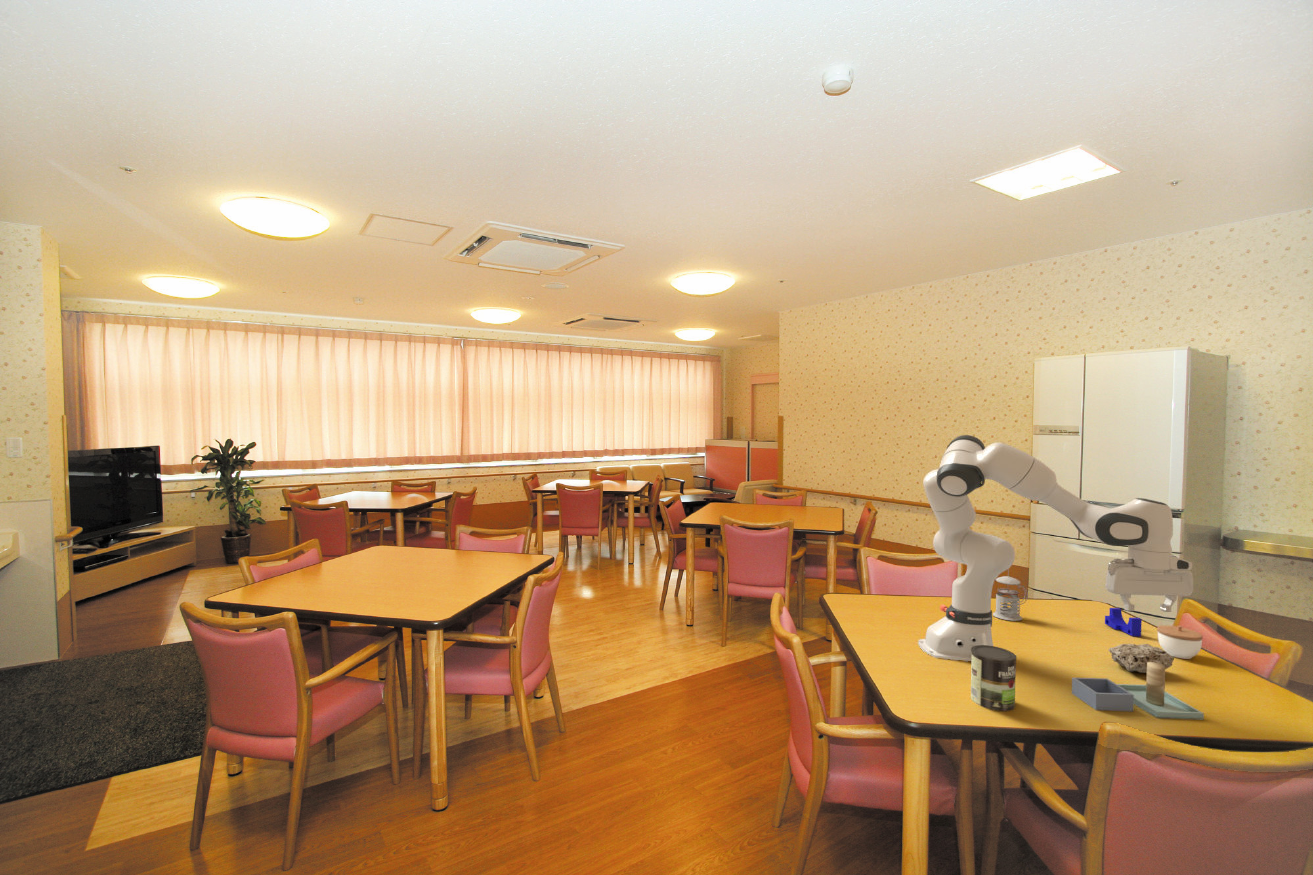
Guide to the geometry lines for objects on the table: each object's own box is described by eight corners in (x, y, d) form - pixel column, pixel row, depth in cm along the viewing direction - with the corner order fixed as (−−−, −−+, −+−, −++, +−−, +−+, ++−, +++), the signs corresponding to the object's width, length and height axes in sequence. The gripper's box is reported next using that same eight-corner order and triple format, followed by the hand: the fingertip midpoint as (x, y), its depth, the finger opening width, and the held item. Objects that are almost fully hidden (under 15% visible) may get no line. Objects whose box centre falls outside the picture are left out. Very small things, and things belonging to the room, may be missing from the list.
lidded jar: (1201, 654, 183) (1202, 625, 183) (1202, 665, 175) (1203, 635, 175) (1157, 645, 190) (1158, 617, 190) (1155, 655, 183) (1156, 626, 182)
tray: (1156, 720, 143) (1156, 711, 143) (1111, 691, 158) (1111, 683, 158) (1203, 721, 142) (1203, 713, 142) (1153, 692, 157) (1154, 685, 157)
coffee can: (1024, 710, 148) (1025, 656, 147) (997, 718, 144) (998, 663, 143) (987, 692, 157) (988, 642, 157) (961, 700, 153) (962, 648, 153)
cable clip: (1104, 623, 212) (1105, 607, 211) (1118, 624, 211) (1118, 608, 211) (1126, 635, 200) (1127, 618, 200) (1141, 636, 199) (1141, 619, 199)
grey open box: (1095, 712, 146) (1096, 693, 146) (1071, 695, 156) (1072, 677, 155) (1133, 713, 146) (1133, 694, 146) (1106, 696, 155) (1107, 678, 155)
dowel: (1153, 705, 148) (1154, 667, 148) (1142, 698, 152) (1143, 661, 151) (1167, 706, 148) (1169, 668, 148) (1156, 699, 152) (1157, 662, 151)
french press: (988, 611, 224) (989, 548, 224) (1019, 612, 223) (1021, 549, 222) (999, 620, 215) (1000, 554, 214) (1032, 621, 213) (1034, 555, 212)
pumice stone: (1156, 666, 174) (1157, 640, 174) (1182, 683, 163) (1183, 656, 163) (1104, 661, 177) (1104, 636, 177) (1126, 678, 166) (1126, 651, 166)
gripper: (1117, 561, 150) (1115, 613, 150) (1199, 563, 149) (1197, 616, 149) (1100, 555, 156) (1098, 605, 156) (1178, 557, 155) (1176, 608, 155)
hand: (1147, 610), depth 153 cm, fingers open, 8 cm apart
